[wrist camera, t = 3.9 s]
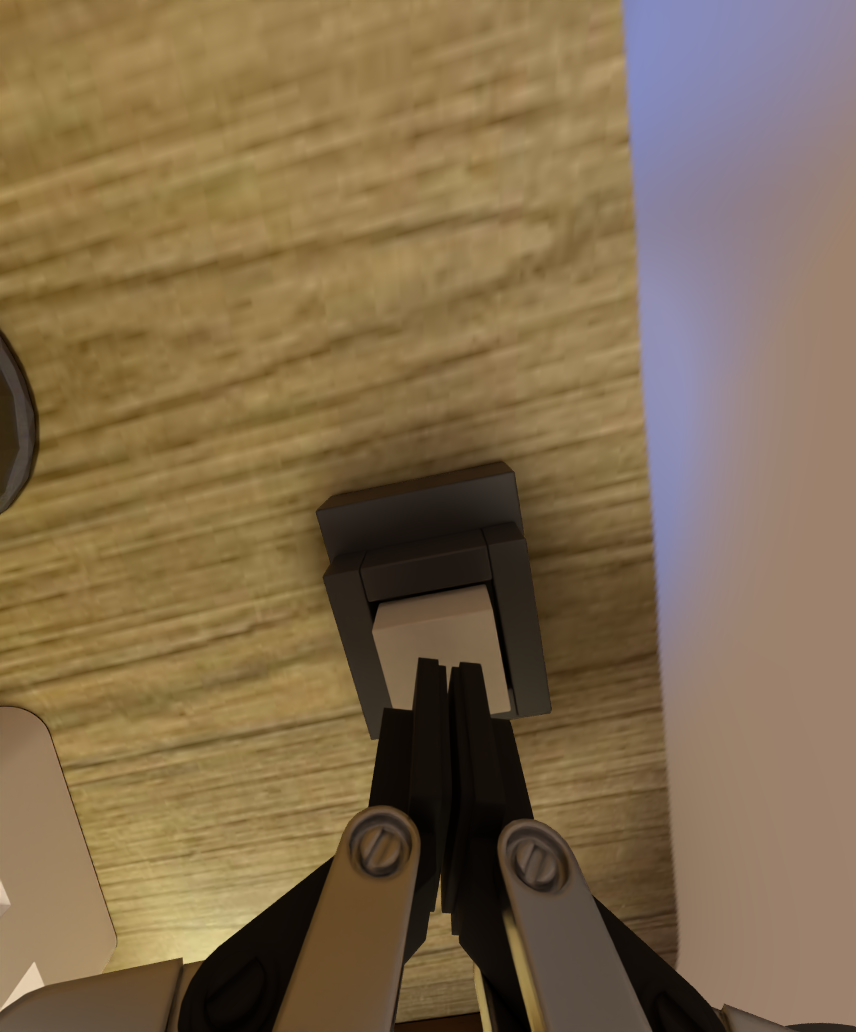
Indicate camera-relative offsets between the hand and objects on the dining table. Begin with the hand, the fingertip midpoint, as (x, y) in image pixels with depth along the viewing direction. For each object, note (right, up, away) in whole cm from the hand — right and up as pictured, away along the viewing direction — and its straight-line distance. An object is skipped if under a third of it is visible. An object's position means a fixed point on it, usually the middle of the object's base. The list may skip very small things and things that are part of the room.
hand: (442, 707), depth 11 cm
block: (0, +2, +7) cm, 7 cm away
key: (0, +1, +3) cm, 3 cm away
